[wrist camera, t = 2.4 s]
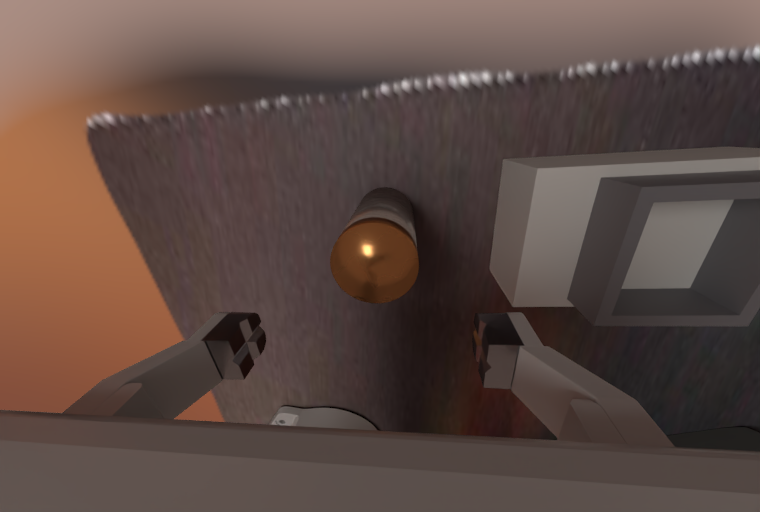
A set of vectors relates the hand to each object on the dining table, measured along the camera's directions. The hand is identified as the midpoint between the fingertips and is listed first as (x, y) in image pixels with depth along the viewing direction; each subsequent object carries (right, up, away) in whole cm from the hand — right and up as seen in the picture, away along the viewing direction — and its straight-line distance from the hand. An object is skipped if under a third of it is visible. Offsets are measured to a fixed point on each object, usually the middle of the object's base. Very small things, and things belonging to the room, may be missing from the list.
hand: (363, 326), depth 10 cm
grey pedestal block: (+19, +6, +13) cm, 23 cm away
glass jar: (+1, +6, +14) cm, 15 cm away
